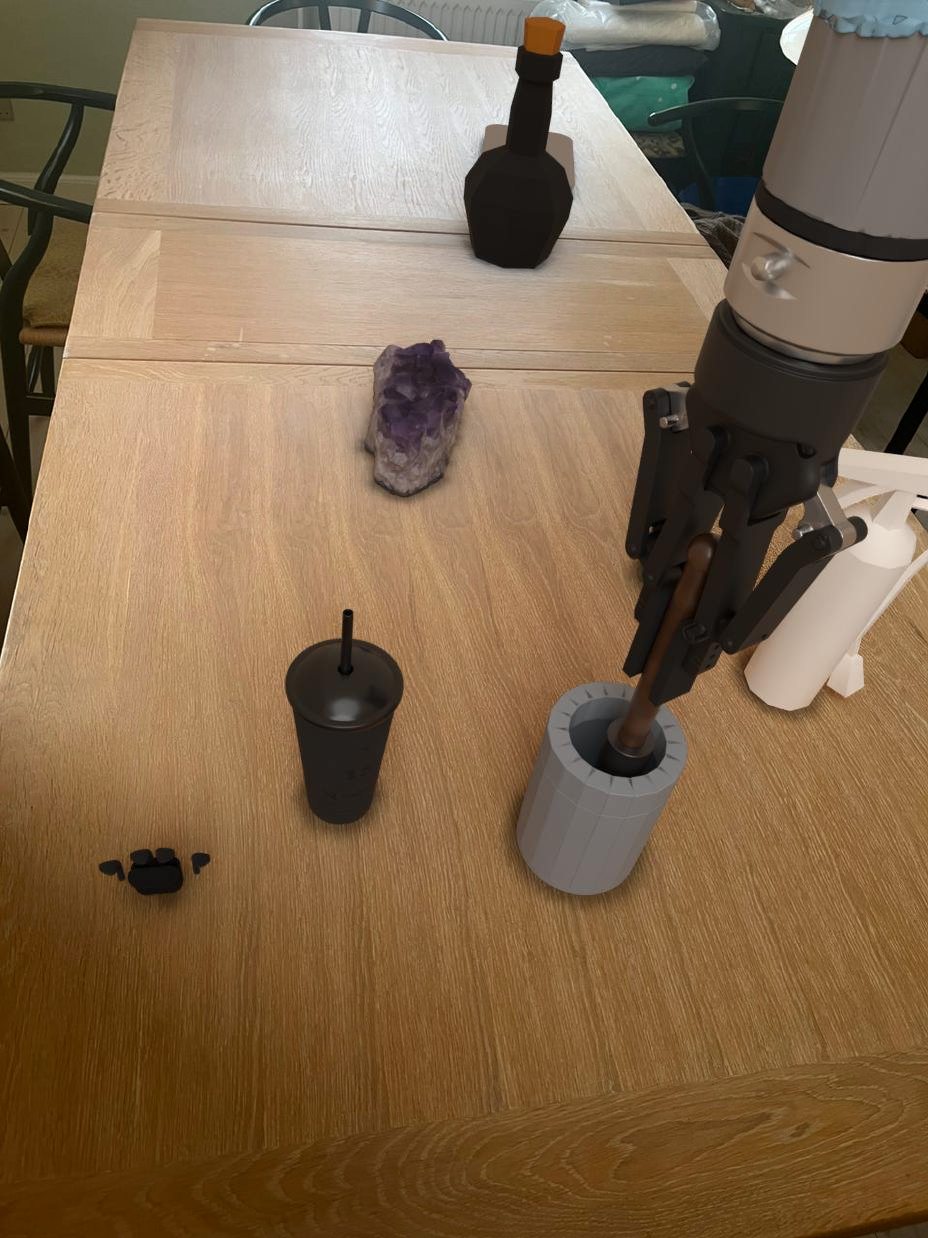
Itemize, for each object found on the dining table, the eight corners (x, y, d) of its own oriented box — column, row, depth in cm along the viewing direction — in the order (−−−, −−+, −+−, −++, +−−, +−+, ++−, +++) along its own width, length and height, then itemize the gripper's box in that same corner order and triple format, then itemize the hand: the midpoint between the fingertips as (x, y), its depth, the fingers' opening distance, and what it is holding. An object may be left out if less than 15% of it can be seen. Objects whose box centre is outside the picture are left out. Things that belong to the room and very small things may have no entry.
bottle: (447, 263, 133) (473, 25, 112) (467, 219, 145) (494, -5, 123) (555, 284, 133) (602, 49, 111) (566, 239, 144) (611, 17, 123)
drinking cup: (267, 789, 69) (257, 601, 55) (349, 739, 73) (359, 552, 59) (329, 861, 65) (335, 681, 51) (411, 804, 69) (437, 623, 55)
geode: (468, 506, 95) (466, 427, 88) (357, 504, 96) (346, 425, 88) (474, 393, 109) (474, 315, 101) (377, 392, 109) (369, 315, 102)
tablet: (477, 188, 154) (479, 174, 152) (484, 134, 172) (486, 121, 170) (572, 202, 155) (575, 188, 153) (569, 148, 173) (572, 135, 171)
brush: (581, 787, 67) (686, 511, 48) (624, 799, 67) (746, 526, 48) (575, 824, 65) (681, 549, 46) (619, 836, 65) (744, 565, 46)
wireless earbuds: (213, 872, 64) (208, 835, 60) (213, 906, 62) (207, 869, 58) (107, 882, 62) (95, 844, 59) (103, 917, 61) (90, 880, 57)
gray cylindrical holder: (642, 804, 72) (691, 700, 63) (629, 911, 66) (682, 813, 56) (528, 773, 73) (560, 666, 64) (504, 876, 66) (536, 774, 57)
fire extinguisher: (861, 731, 80) (1019, 510, 62) (724, 700, 81) (842, 471, 63) (853, 674, 85) (998, 453, 67) (724, 645, 85) (834, 418, 68)
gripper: (628, 254, 41) (536, 619, 58) (883, 436, 33) (689, 799, 50) (748, 234, 44) (627, 584, 61) (1007, 395, 36) (786, 748, 53)
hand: (655, 680), depth 55 cm, fingers closed on brush, 2 cm apart
